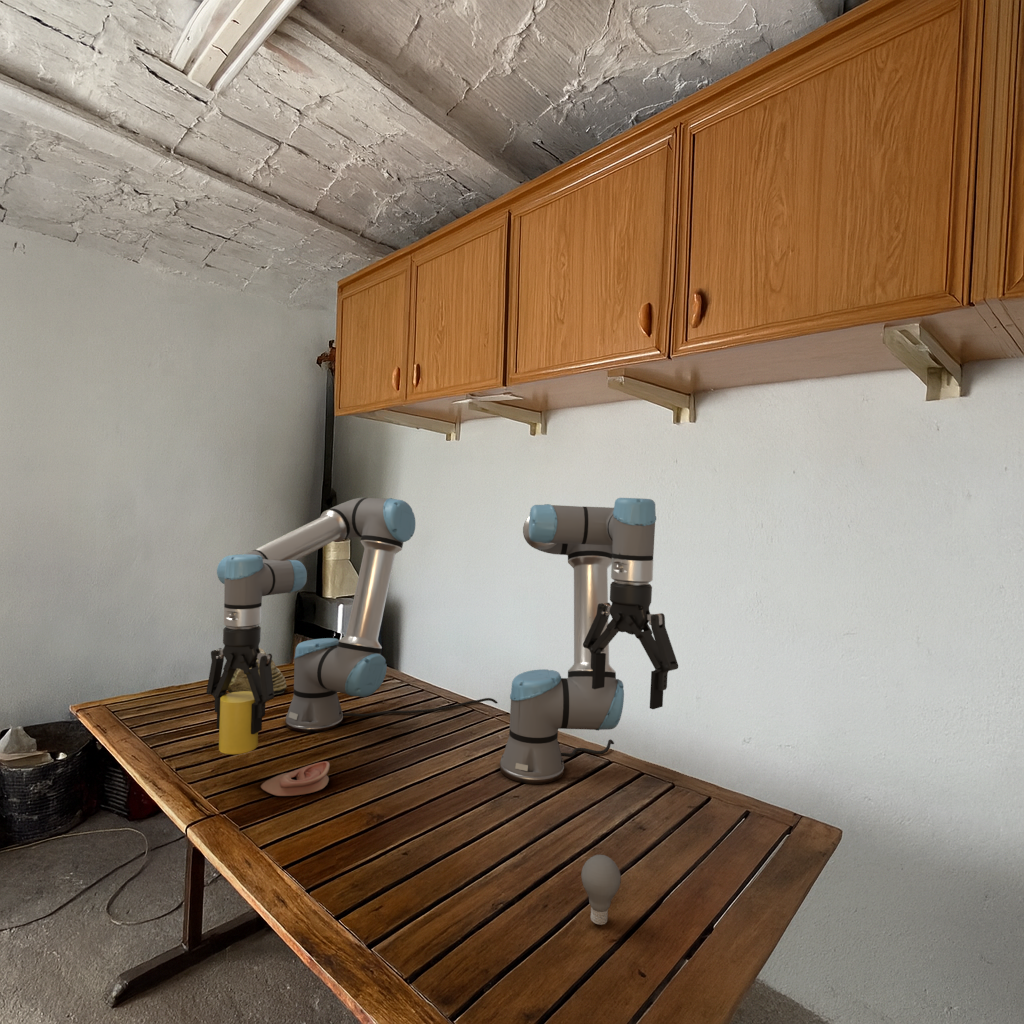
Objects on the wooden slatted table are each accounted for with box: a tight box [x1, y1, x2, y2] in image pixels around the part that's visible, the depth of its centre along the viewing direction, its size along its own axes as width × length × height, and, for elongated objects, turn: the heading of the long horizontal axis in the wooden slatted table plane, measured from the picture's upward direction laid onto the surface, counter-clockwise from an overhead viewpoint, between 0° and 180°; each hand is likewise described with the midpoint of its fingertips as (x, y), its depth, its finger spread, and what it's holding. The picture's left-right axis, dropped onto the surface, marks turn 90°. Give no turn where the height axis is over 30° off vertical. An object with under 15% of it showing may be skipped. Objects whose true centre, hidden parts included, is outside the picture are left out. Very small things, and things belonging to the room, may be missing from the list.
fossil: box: [227, 647, 288, 696], centre depth 198 cm, size 9×18×15 cm, turn 132°
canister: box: [218, 691, 259, 755], centre depth 138 cm, size 8×8×11 cm
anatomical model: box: [260, 760, 331, 797], centre depth 138 cm, size 13×4×12 cm
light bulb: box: [580, 854, 622, 926], centre depth 97 cm, size 6×6×10 cm
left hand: (239, 729), depth 138 cm, fingers closed on canister, 8 cm apart
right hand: (625, 697), depth 116 cm, fingers open, 13 cm apart
